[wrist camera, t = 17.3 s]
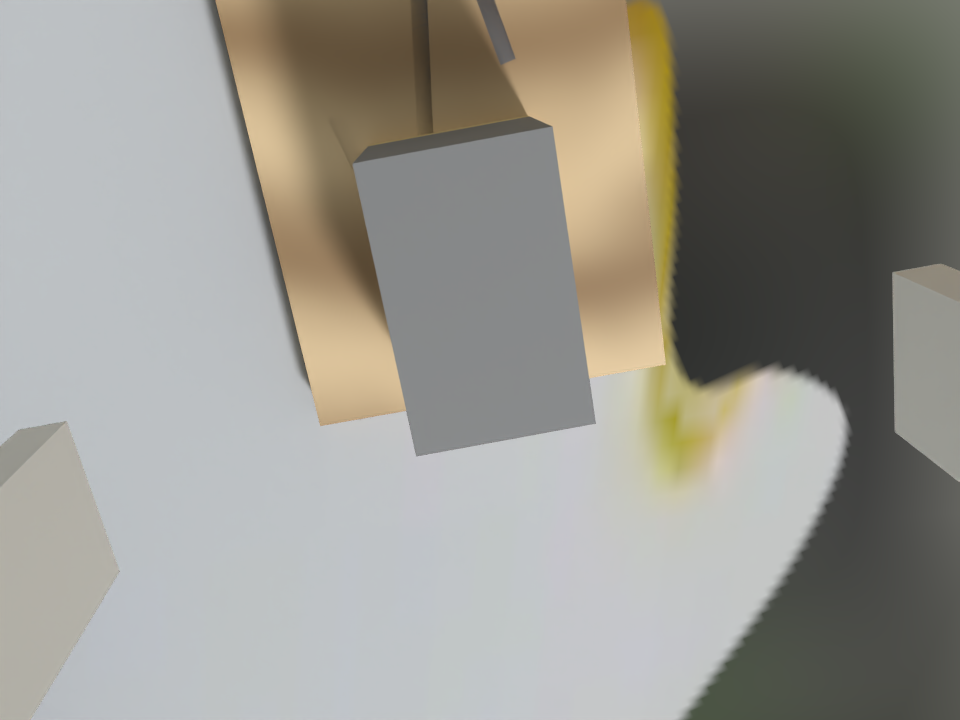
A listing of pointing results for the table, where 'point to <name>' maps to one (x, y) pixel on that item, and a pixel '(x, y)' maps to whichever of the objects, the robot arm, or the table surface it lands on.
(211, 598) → the table surface
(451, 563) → the table surface
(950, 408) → the robot arm
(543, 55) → the board
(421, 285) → the block
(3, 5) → the table surface
